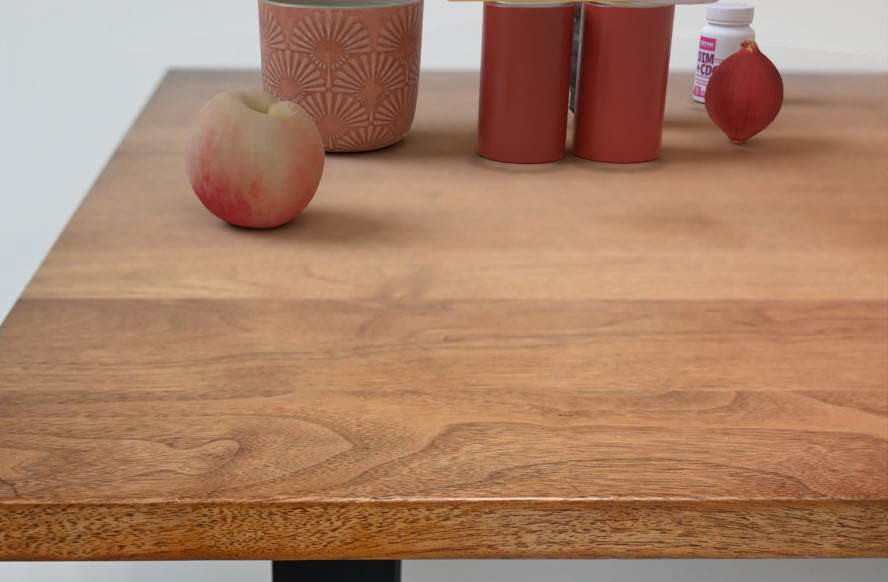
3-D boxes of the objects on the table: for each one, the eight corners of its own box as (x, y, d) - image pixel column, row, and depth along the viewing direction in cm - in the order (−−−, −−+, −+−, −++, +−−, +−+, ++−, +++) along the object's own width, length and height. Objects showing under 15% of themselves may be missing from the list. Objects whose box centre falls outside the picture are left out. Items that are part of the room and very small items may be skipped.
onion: (708, 132, 102) (719, 31, 98) (781, 139, 99) (796, 35, 96) (692, 146, 97) (704, 40, 94) (770, 154, 94) (784, 46, 91)
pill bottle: (684, 102, 113) (694, 5, 110) (703, 94, 117) (713, 0, 114) (736, 108, 111) (748, 9, 108) (754, 99, 114) (766, 4, 111)
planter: (244, 130, 101) (240, -10, 97) (388, 121, 105) (390, -15, 101) (285, 165, 90) (282, 9, 86) (444, 154, 94) (449, 3, 90)
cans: (647, 142, 98) (661, -7, 94) (670, 162, 92) (687, 4, 88) (471, 143, 97) (477, -7, 93) (483, 163, 91) (490, 4, 87)
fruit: (257, 250, 72) (254, 110, 69) (164, 223, 77) (156, 92, 74) (348, 220, 77) (349, 90, 74) (255, 197, 82) (253, 74, 79)
